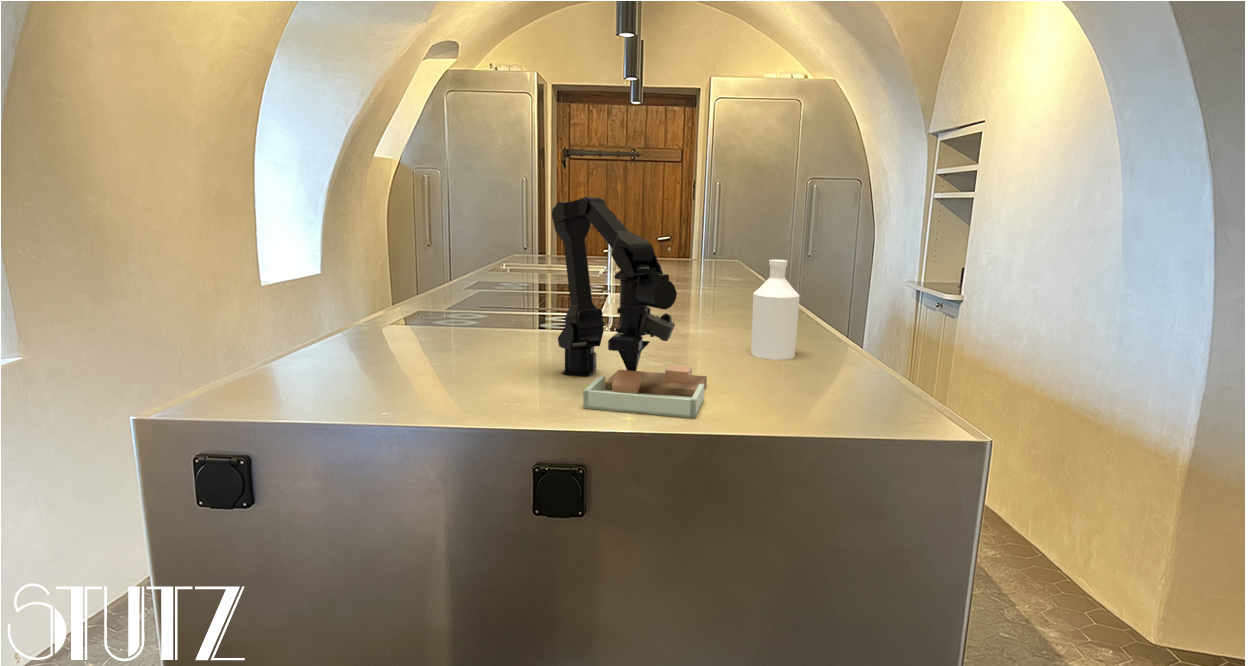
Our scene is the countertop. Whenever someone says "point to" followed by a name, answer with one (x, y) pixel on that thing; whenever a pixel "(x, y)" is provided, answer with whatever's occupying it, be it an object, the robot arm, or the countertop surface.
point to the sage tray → (642, 401)
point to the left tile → (627, 381)
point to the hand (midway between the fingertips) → (632, 376)
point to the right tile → (678, 374)
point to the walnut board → (664, 384)
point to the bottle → (775, 316)
